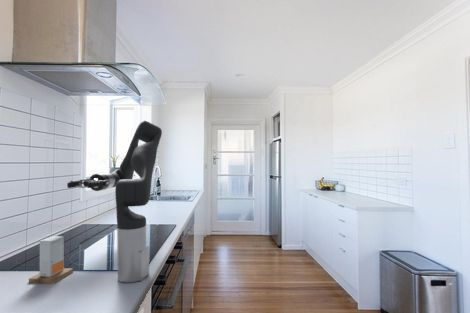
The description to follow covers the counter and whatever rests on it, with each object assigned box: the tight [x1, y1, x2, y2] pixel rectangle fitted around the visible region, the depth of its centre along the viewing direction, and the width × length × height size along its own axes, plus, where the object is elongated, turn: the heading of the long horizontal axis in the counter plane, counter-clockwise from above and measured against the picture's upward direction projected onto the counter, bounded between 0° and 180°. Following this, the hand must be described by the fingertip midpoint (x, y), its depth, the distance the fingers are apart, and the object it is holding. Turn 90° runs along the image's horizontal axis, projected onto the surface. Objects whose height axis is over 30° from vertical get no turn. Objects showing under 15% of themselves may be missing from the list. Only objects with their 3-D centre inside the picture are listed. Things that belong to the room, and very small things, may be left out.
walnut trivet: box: [28, 267, 74, 284], centre depth 95 cm, size 9×9×1 cm
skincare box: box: [39, 235, 65, 277], centre depth 95 cm, size 6×4×12 cm
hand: (78, 185), depth 109 cm, fingers open, 8 cm apart
